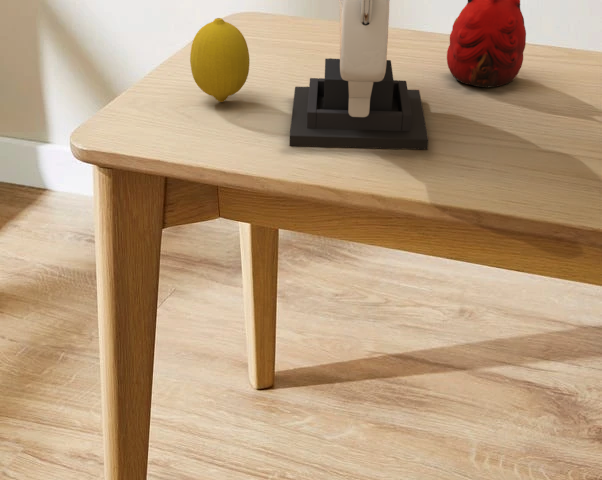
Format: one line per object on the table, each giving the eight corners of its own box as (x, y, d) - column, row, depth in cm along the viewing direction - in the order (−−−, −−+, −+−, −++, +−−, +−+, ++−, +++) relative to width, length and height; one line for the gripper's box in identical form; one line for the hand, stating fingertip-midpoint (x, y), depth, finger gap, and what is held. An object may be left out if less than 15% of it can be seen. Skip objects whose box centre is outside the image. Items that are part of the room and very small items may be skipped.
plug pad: (388, 101, 91) (390, 59, 89) (390, 124, 87) (393, 81, 85) (324, 99, 92) (325, 58, 89) (323, 122, 87) (324, 79, 85)
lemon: (224, 87, 97) (221, 6, 92) (262, 102, 93) (261, 19, 89) (180, 100, 94) (175, 17, 89) (217, 117, 90) (214, 31, 86)
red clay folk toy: (517, 70, 102) (538, -81, 94) (523, 94, 96) (546, -64, 88) (444, 66, 103) (458, -84, 95) (445, 90, 97) (461, -68, 89)
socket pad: (418, 99, 95) (420, 74, 93) (427, 150, 85) (430, 122, 83) (295, 96, 95) (295, 71, 94) (289, 146, 85) (289, 119, 84)
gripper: (411, -32, 72) (398, 142, 80) (397, -88, 89) (387, 59, 97) (326, -34, 72) (320, 140, 80) (328, -90, 89) (324, 57, 97)
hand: (357, 95), depth 88 cm, fingers open, 8 cm apart
